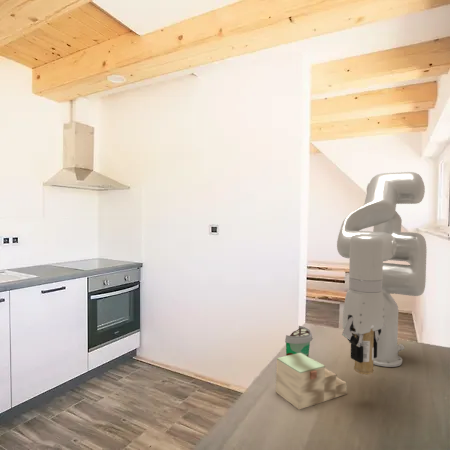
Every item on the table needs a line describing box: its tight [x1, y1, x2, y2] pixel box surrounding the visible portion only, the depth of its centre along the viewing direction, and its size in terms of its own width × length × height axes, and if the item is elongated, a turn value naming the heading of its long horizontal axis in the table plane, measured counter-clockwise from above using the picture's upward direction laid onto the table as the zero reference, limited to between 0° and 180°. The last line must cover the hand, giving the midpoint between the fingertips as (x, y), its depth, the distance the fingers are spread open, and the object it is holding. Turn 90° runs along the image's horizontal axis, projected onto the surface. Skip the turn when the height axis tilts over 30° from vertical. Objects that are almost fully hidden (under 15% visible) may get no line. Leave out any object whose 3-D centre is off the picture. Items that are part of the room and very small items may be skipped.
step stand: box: [275, 353, 348, 410], centre depth 88 cm, size 16×10×9 cm, turn 119°
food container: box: [284, 325, 313, 357], centre depth 106 cm, size 12×6×10 cm, turn 148°
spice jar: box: [353, 325, 375, 376], centre depth 83 cm, size 5×5×13 cm
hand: (363, 357), depth 84 cm, fingers closed on spice jar, 4 cm apart
